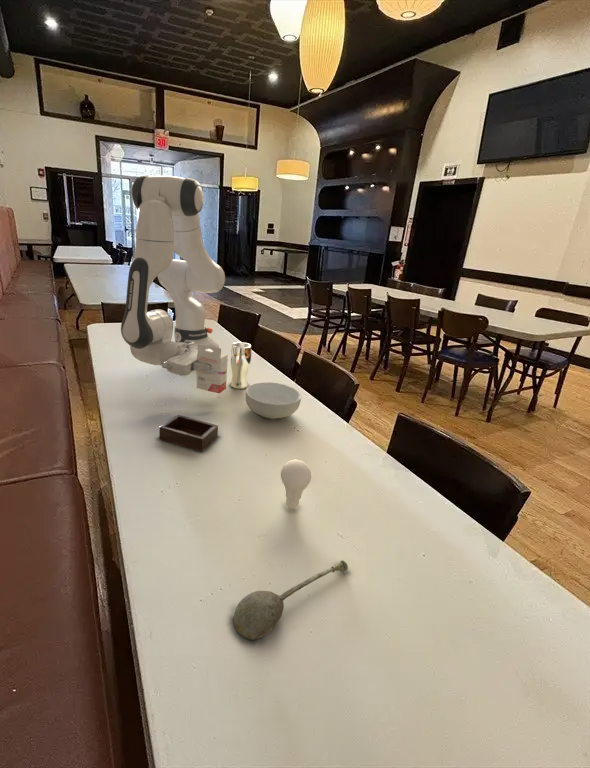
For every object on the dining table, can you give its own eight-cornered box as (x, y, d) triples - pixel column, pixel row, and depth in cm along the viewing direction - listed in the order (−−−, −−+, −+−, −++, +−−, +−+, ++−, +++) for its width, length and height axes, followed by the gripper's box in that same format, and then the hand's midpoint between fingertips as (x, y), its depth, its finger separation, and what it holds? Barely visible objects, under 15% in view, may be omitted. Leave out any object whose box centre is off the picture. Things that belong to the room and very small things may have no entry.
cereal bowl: (269, 431, 116) (272, 408, 113) (233, 409, 127) (234, 388, 125) (310, 417, 127) (313, 395, 124) (273, 398, 138) (275, 378, 135)
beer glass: (249, 383, 149) (253, 343, 143) (247, 390, 142) (250, 348, 137) (230, 381, 149) (233, 341, 144) (227, 388, 143) (230, 346, 137)
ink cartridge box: (226, 388, 132) (229, 345, 127) (219, 394, 128) (221, 349, 123) (203, 383, 135) (204, 340, 130) (195, 388, 131) (196, 343, 125)
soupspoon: (224, 615, 62) (248, 653, 57) (225, 600, 60) (250, 637, 56) (331, 555, 74) (358, 583, 69) (334, 541, 72) (362, 568, 67)
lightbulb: (272, 501, 87) (277, 456, 83) (297, 496, 89) (303, 452, 85) (285, 520, 82) (291, 472, 78) (311, 513, 84) (319, 467, 80)
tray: (177, 425, 115) (177, 414, 113) (217, 437, 111) (218, 425, 109) (159, 439, 107) (159, 426, 106) (201, 451, 103) (202, 439, 102)
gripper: (157, 355, 123) (198, 364, 118) (192, 339, 140) (229, 347, 136) (157, 375, 125) (197, 384, 120) (192, 357, 143) (228, 365, 138)
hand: (214, 364), depth 128 cm, fingers closed on ink cartridge box, 5 cm apart
